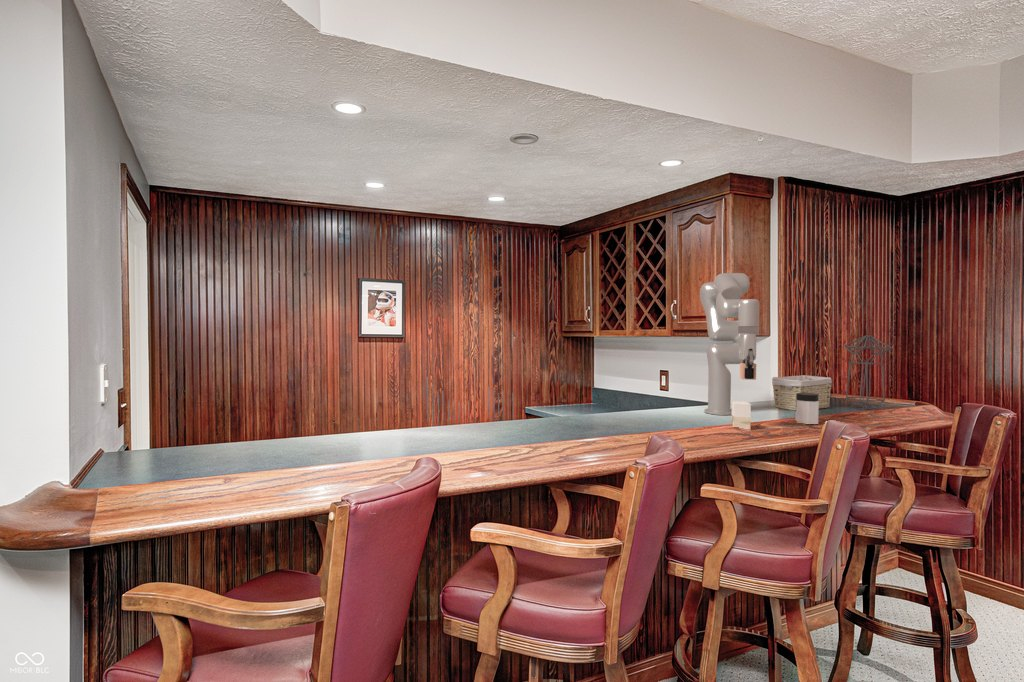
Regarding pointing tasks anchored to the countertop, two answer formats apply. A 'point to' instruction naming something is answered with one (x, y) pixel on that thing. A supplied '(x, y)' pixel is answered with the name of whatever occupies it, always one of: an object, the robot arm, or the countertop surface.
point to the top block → (742, 371)
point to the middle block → (741, 409)
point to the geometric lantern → (866, 368)
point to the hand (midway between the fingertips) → (747, 377)
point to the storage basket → (800, 390)
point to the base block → (741, 422)
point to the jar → (807, 408)
